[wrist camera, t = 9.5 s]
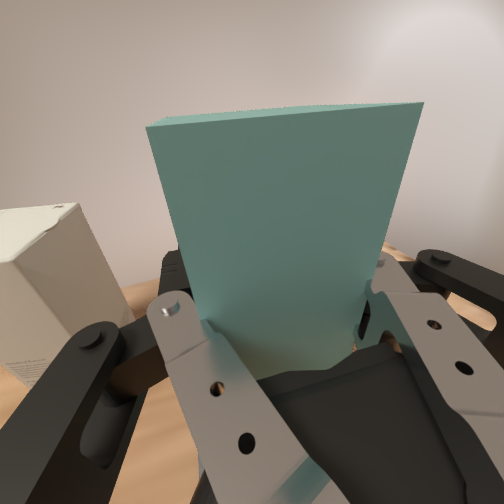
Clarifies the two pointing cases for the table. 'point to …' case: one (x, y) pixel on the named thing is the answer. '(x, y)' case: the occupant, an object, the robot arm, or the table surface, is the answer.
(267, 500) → the robot arm
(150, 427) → the table surface
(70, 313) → the skincare box
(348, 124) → the teal block
